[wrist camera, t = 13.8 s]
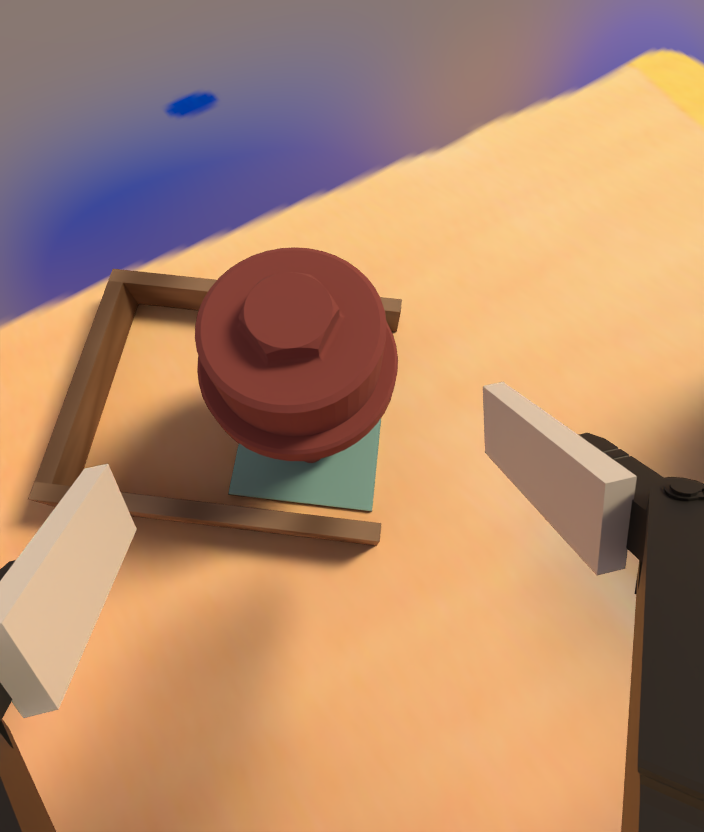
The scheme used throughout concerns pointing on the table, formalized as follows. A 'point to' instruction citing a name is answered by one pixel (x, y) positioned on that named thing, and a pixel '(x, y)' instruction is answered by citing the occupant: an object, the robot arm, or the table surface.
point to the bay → (253, 473)
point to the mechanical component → (295, 354)
